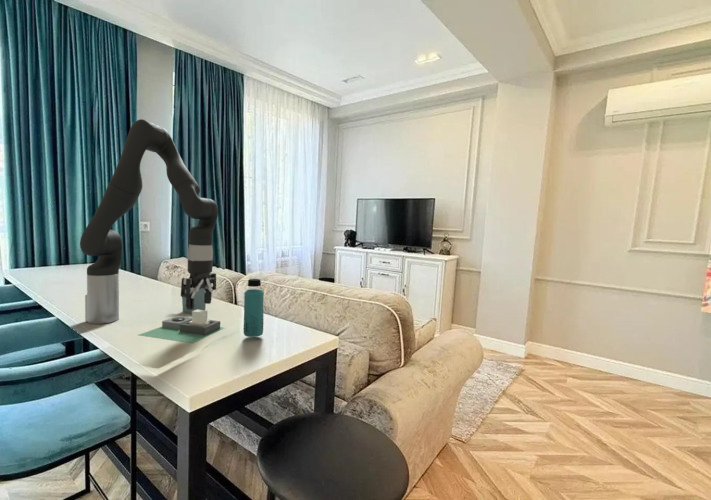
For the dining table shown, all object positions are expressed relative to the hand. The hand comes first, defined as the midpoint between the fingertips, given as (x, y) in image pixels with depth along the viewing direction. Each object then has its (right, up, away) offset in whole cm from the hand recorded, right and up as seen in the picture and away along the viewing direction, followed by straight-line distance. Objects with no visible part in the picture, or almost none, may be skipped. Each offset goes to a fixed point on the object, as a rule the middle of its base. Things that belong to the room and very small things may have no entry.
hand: (199, 306), depth 112 cm
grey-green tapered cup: (-15, -7, +28) cm, 32 cm away
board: (-4, -10, -1) cm, 11 cm away
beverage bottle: (+18, -11, -1) cm, 21 cm away
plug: (0, -8, +1) cm, 8 cm away
